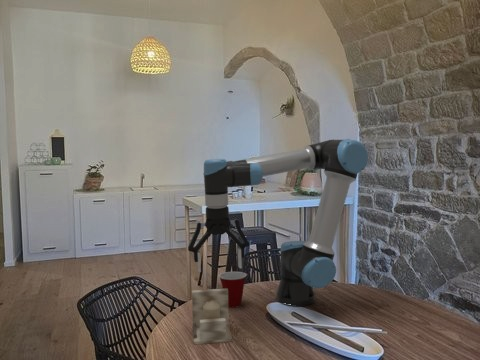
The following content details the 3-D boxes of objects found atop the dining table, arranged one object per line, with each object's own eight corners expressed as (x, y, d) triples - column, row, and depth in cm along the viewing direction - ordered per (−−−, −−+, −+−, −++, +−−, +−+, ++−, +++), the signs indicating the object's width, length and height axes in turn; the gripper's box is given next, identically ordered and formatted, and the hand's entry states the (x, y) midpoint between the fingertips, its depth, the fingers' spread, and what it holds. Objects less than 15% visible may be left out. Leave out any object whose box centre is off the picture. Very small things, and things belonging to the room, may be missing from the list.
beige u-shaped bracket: (227, 324, 141) (227, 288, 140) (232, 341, 129) (231, 301, 128) (192, 326, 139) (192, 290, 138) (193, 344, 128) (193, 304, 126)
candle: (201, 334, 132) (200, 304, 131) (206, 327, 137) (205, 298, 136) (217, 336, 131) (217, 305, 130) (222, 328, 136) (221, 299, 135)
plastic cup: (244, 297, 165) (243, 268, 164) (250, 308, 154) (249, 277, 153) (217, 300, 163) (216, 270, 162) (221, 311, 152) (220, 279, 151)
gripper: (252, 202, 140) (254, 262, 143) (178, 207, 136) (181, 269, 139) (256, 205, 133) (258, 269, 135) (178, 210, 129) (182, 276, 131)
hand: (219, 269), depth 137 cm, fingers open, 13 cm apart
